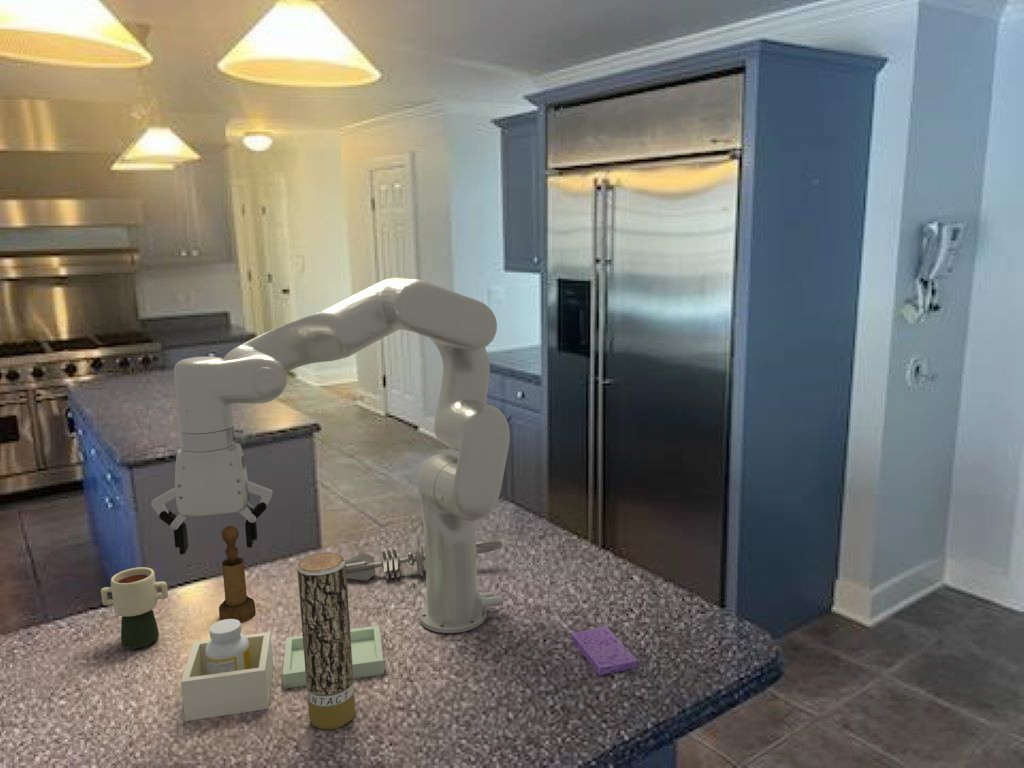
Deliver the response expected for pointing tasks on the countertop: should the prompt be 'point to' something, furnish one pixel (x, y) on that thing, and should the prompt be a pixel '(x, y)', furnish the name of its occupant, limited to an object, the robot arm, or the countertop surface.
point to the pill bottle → (227, 648)
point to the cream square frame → (228, 682)
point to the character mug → (135, 604)
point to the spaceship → (398, 561)
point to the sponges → (603, 650)
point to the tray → (363, 656)
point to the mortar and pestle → (234, 582)
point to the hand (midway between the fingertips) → (217, 547)
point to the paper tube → (326, 639)
